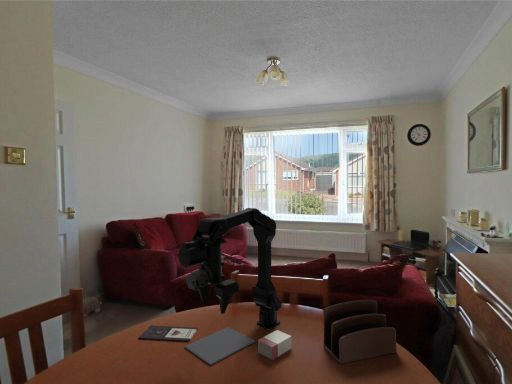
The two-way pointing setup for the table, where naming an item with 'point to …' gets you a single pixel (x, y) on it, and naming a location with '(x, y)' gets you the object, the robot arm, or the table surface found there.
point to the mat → (219, 345)
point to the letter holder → (357, 331)
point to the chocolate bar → (169, 333)
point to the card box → (274, 344)
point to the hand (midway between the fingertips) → (213, 309)
